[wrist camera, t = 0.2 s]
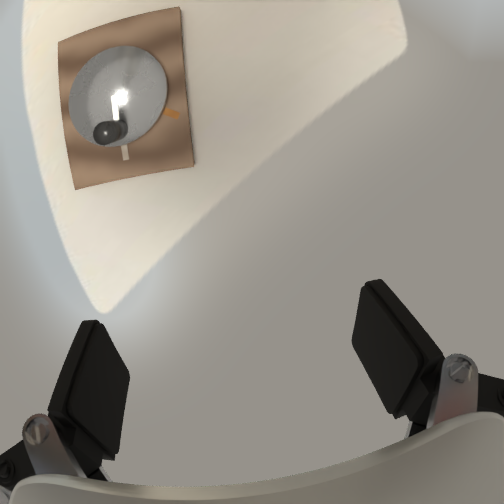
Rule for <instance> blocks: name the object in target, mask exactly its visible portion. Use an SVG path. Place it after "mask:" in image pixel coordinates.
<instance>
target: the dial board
mask: <svg viewBox="0 0 504 504" xmlns="http://www.w3.org/2000/svg"><path fill="white" fill-rule="evenodd" d="M118 46H132V47H137V48H140V49H143V50H145V51H147V52H148V53H150V54H151V55H152V56H153V57H154V58H155V59H156V60H157V61H158V62H159V63H160V64H161V66H162V68H163V70H164V72H165V75H166V78H167V83H168V94H167V100H166V104H165V107H164V109H163V112H162V114H161V116H160V117H159V119H158V120H157V122H156V123H155V124H154V126H153V127H152V128H151V129H150V130H149V131H148V132H147V133H145V134H144V135H143V136H141V137H140V138H138V139H136V140H134V141H132V142H130V143H127V144H124V145H121V146H115V147H105V146H99V145H96V144H93V143H91V142H89V141H87V140H86V139H85V138H83V137H82V136H81V135H80V134H79V133H78V132H77V130H76V129H75V127H74V125H73V123H72V121H71V118H70V113H69V95H70V90H71V87H72V84H73V82H74V79H75V77H76V76H77V74H78V72H79V71H80V70H81V68H82V67H83V66H84V65H85V64H86V63H87V62H88V61H89V60H90V59H91V58H93V57H94V56H95V55H97V54H98V53H100V52H102V51H104V50H107V49H110V48H113V47H118ZM58 73H59V90H60V102H61V112H62V120H63V128H64V135H65V141H66V147H67V153H68V158H69V164H70V169H71V173H72V178H73V183H74V187H75V190H77V189H81V188H85V187H89V186H94V185H98V184H102V183H107V182H111V181H116V180H121V179H125V178H130V177H135V176H141V175H146V174H151V173H157V172H163V171H169V170H175V169H181V168H188V167H194V156H193V148H192V140H191V131H190V122H189V112H188V103H187V92H186V81H185V69H184V56H183V42H182V25H181V11H180V7H174V8H168V9H163V10H158V11H153V12H149V13H144V14H140V15H136V16H132V17H128V18H125V19H121V20H118V21H114V22H111V23H108V24H105V25H102V26H99V27H96V28H93V29H90V30H87V31H85V32H82V33H79V34H77V35H74V36H72V37H69V38H67V39H65V40H62V41H60V42H58Z"/></svg>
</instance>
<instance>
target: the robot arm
mask: <svg viewBox="0 0 504 504" xmlns="http://www.w3.org/2000/svg"><path fill="white" fill-rule="evenodd" d="M352 345H353V348H354V350H355V351H356V353H357V355H358V357H359V359H360V361H361V362H362V364H363V366H364V368H365V370H366V372H367V374H368V376H369V377H370V379H371V381H372V383H373V385H374V387H375V389H376V391H377V393H378V395H379V397H380V398H381V401H382V402H383V404H384V406H385V408H386V410H387V412H388V413H389V414H393V416H394V418H395V419H397V418H400V417H401V416H404V415H407V417H408V419H409V424H408V428H407V431H406V435H405V438H404V440H402V441H399V442H397V443H395V444H392V445H390V446H387V447H385V448H382V449H379V450H377V451H374V452H372V453H369V454H366V455H363V456H361V457H358V458H355V459H352V460H349V461H346V462H342V463H339V464H336V465H332V466H329V467H326V468H321V469H318V470H314V471H310V472H305V473H301V474H297V475H292V476H287V477H282V478H277V479H271V480H264V481H258V482H250V483H242V484H233V485H220V486H201V487H164V486H146V485H134V484H123V483H115V482H113V481H112V480H111V479H110V477H109V476H108V474H107V473H106V472H105V470H104V469H103V467H102V465H101V463H102V459H105V460H115V454H117V453H118V452H119V446H120V438H121V431H122V423H123V416H124V410H125V403H126V398H127V392H128V386H129V381H130V375H129V371H128V369H127V367H126V366H125V364H124V362H123V360H122V359H121V357H120V355H119V353H118V351H117V350H116V348H115V346H114V344H113V342H112V340H111V338H110V336H109V334H108V332H107V330H106V328H105V326H104V325H103V324H102V323H100V322H99V321H98V320H86V321H82V323H81V325H80V327H79V329H78V331H77V333H76V336H75V338H74V340H73V343H72V345H71V347H70V350H69V352H68V355H67V357H66V360H65V362H64V365H63V367H62V370H61V372H60V375H59V378H58V380H57V383H56V386H55V389H54V392H53V394H52V398H51V400H50V403H49V406H48V411H49V413H48V416H47V415H45V414H35V415H32V416H31V417H30V418H28V419H27V421H26V422H25V424H24V426H23V430H22V436H23V440H22V441H20V442H19V443H17V444H16V445H15V446H13V447H12V448H10V449H9V450H7V451H6V452H4V453H3V454H1V455H0V504H504V380H503V379H499V378H495V377H491V376H487V375H484V374H480V373H478V369H477V366H476V364H475V362H474V361H473V360H472V359H471V358H469V357H468V356H466V355H463V354H451V355H450V356H448V357H446V358H445V357H444V356H443V353H442V352H441V350H440V349H439V348H438V346H437V345H436V344H435V342H434V341H433V340H432V339H431V337H430V336H429V335H428V333H427V332H426V331H425V330H424V328H423V327H422V326H421V325H420V324H419V322H418V321H417V320H416V319H415V317H414V316H413V315H412V314H411V313H410V312H409V310H408V309H407V308H406V307H405V305H404V304H403V303H402V302H401V301H400V300H399V298H398V297H397V296H396V295H395V294H394V293H393V291H392V290H391V289H390V288H389V287H388V286H387V285H386V283H385V282H384V281H383V280H382V279H378V280H372V281H368V282H366V283H365V286H363V287H362V288H361V292H360V298H359V304H358V309H357V315H356V321H355V326H354V330H353V335H352Z"/></svg>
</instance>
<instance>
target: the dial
mask: <svg viewBox="0 0 504 504" xmlns="http://www.w3.org/2000/svg"><path fill="white" fill-rule="evenodd" d="M167 94H168V83H167V78H166V75H165V72H164V70H163V68H162V66H161V64H160V63H159V62H158V61H157V60H156V59H155V58H154V57H153V56H152V55H151V54H150V53H148V52H147V51H145V50H143V49H140V48H137V47H132V46H118V47H113V48H110V49H107V50H104V51H102V52H100V53H98V54H97V55H95V56H94V57H93V58H91V59H90V60H89V61H88V62H87V63H86V64H85V65H84V66H83V67H82V68H81V70H80V71H79V72H78V74H77V76H76V77H75V79H74V82H73V84H72V87H71V90H70V95H69V113H70V118H71V121H72V123H73V125H74V127H75V129H76V130H77V132H78V133H79V134H80V135H81V136H82V137H83V138H85V139H86V140H87V141H89V142H91V143H93V144H96V145H99V146H105V147H115V146H121V145H124V144H127V143H130V142H132V141H134V140H136V139H138V138H140V137H141V136H143V135H144V134H145V133H147V132H148V131H149V130H150V129H151V128H152V127H153V126H154V124H155V123H156V122H157V120H158V119H159V117H160V116H161V114H162V112H163V109H164V107H165V104H166V100H167Z"/></svg>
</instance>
